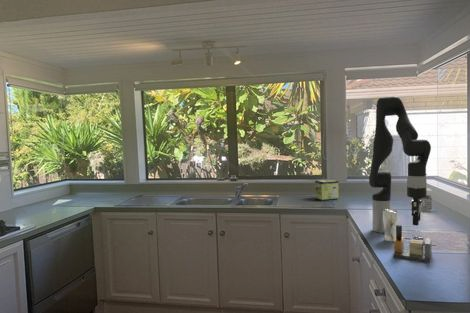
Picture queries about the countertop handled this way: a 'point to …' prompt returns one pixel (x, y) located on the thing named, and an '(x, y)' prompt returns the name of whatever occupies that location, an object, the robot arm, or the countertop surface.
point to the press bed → (407, 255)
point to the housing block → (416, 247)
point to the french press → (427, 208)
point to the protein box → (326, 190)
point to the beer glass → (390, 224)
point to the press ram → (399, 240)
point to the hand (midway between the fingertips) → (416, 222)
